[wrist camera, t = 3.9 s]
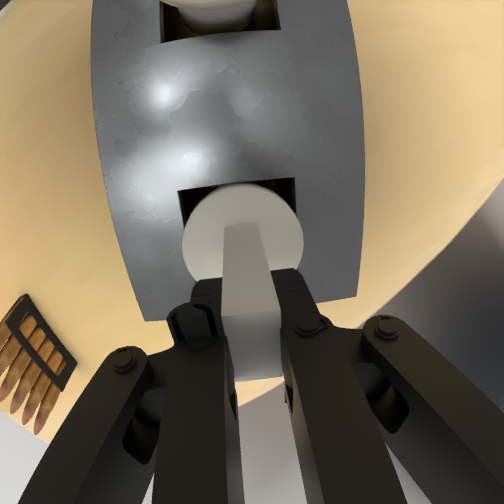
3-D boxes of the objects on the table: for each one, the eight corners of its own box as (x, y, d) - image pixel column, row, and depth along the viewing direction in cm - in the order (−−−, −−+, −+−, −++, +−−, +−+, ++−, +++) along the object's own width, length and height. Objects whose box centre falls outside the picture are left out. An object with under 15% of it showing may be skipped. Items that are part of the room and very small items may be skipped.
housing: (126, -2, 12) (97, -34, 6) (306, -22, 12) (329, -58, 7) (162, 276, 22) (144, 321, 17) (328, 256, 22) (356, 296, 17)
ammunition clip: (78, 363, 26) (45, 440, 16) (69, 364, 27) (37, 438, 16) (27, 293, 22) (-30, 365, 11) (19, 296, 22) (-35, 366, 11)
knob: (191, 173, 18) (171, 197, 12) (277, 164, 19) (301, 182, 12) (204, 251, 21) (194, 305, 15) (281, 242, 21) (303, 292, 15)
